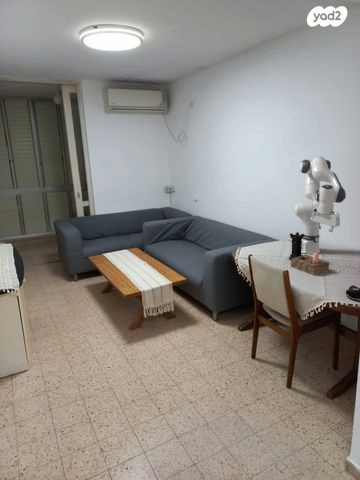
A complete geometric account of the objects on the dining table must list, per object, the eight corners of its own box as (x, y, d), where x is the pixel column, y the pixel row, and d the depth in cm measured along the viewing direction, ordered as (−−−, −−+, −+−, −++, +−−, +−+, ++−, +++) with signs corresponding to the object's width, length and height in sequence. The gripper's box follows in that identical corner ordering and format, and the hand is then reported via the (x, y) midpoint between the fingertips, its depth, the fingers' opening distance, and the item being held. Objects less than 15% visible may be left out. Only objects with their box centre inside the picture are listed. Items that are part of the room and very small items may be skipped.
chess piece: (296, 257, 250) (297, 232, 244) (304, 260, 242) (305, 234, 237) (288, 259, 247) (288, 233, 242) (295, 262, 240) (296, 236, 234)
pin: (311, 267, 222) (311, 253, 220) (314, 266, 224) (315, 252, 221) (315, 269, 219) (315, 254, 217) (319, 268, 221) (319, 253, 218)
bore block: (290, 266, 232) (291, 258, 231) (305, 262, 238) (305, 254, 237) (313, 275, 215) (313, 266, 213) (328, 270, 221) (329, 262, 219)
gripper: (343, 211, 207) (341, 232, 212) (317, 207, 225) (316, 226, 229) (335, 213, 205) (334, 234, 209) (310, 208, 223) (309, 228, 227)
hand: (324, 230), depth 219 cm, fingers open, 8 cm apart
